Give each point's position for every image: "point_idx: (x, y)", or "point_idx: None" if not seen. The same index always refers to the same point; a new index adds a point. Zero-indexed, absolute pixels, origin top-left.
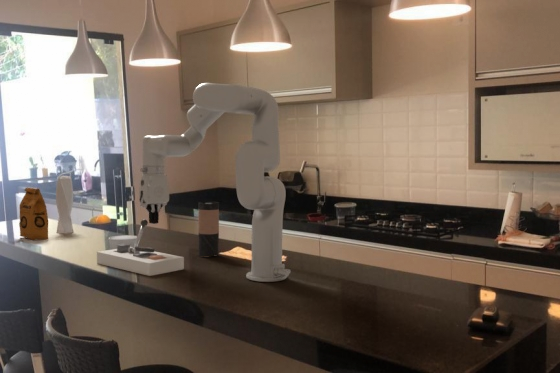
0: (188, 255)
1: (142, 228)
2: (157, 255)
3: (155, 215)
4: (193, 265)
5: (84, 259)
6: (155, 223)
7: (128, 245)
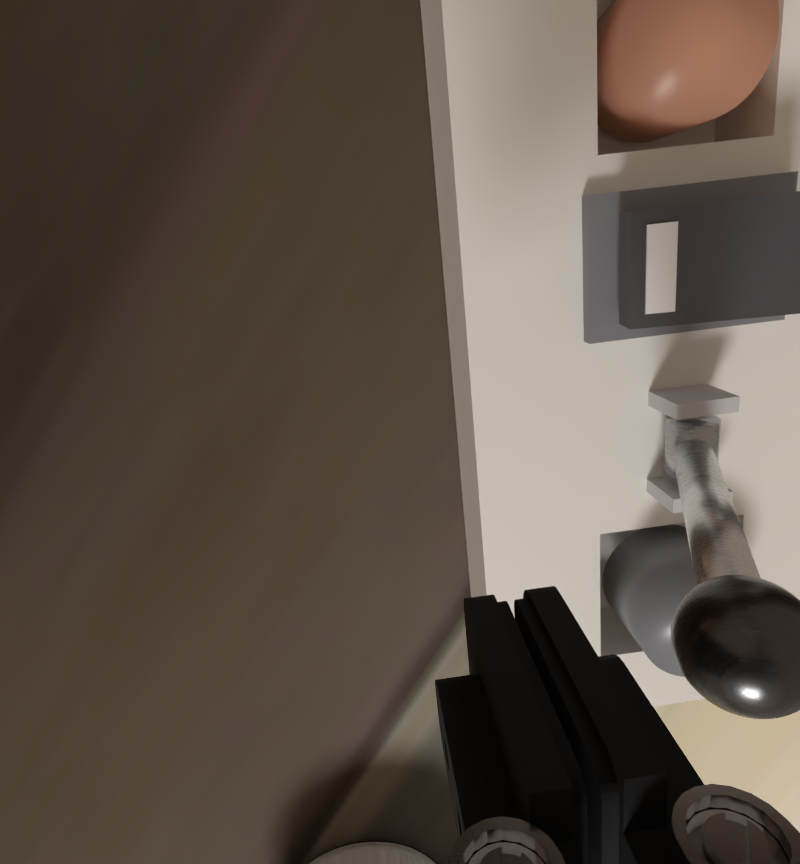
0: (25, 484)
1: (745, 556)
2: (665, 66)
3: (604, 701)
4: (227, 12)
5: (733, 770)
6: (529, 589)
7: (692, 570)
